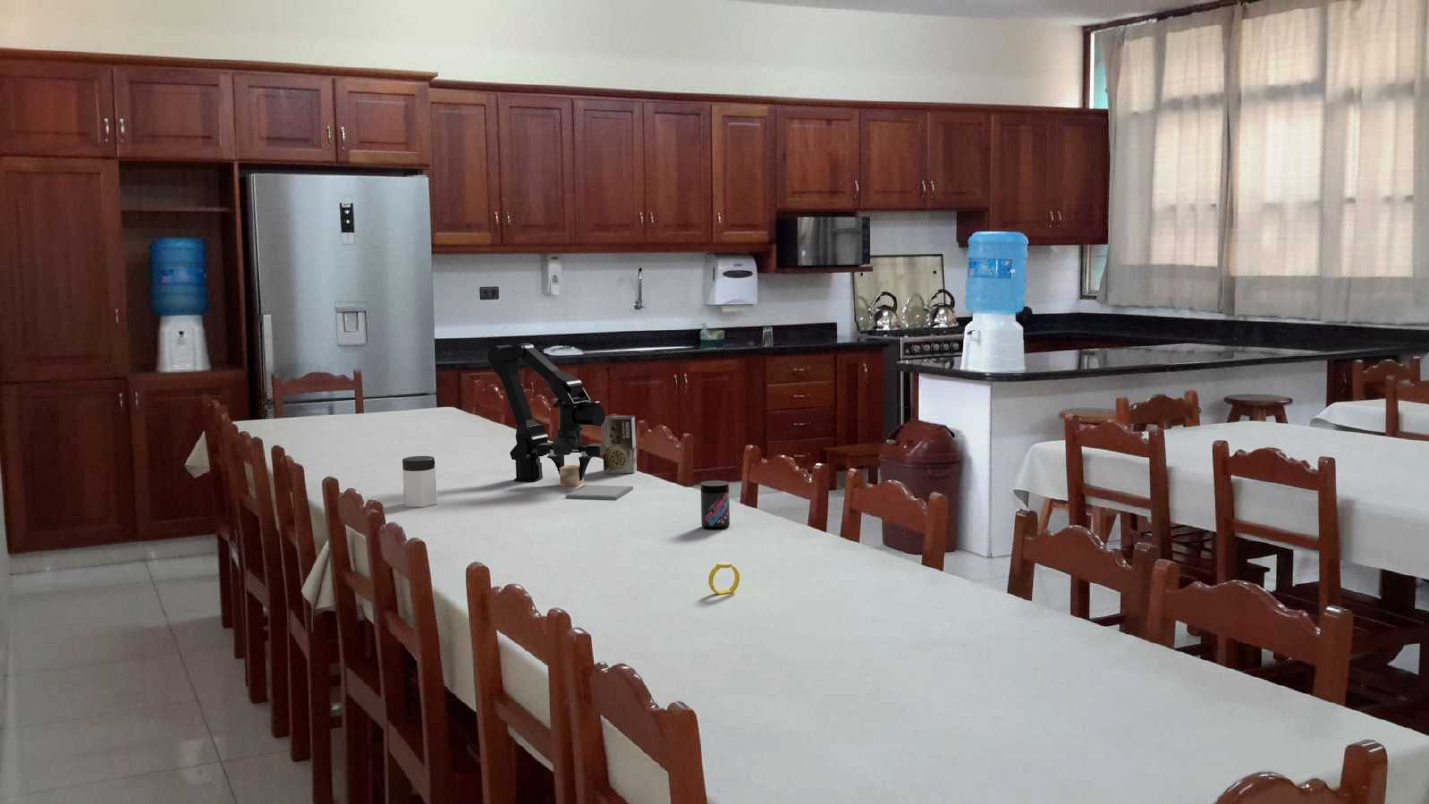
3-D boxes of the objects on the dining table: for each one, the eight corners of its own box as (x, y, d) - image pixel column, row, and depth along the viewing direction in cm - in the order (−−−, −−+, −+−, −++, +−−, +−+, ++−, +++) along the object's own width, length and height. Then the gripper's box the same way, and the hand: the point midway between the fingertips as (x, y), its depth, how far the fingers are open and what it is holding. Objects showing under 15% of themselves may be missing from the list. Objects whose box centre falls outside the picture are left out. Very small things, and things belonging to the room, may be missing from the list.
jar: (439, 505, 321) (436, 459, 319) (406, 508, 318) (404, 462, 316) (434, 499, 329) (432, 454, 327) (402, 502, 326) (400, 456, 325)
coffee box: (637, 469, 367) (635, 415, 365) (633, 473, 361) (632, 418, 359) (606, 469, 368) (605, 415, 366) (602, 473, 362) (601, 418, 359)
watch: (734, 590, 239) (735, 560, 238) (741, 594, 236) (742, 563, 236) (706, 593, 236) (707, 562, 235) (712, 596, 233) (714, 565, 233)
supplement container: (698, 530, 288) (697, 485, 287) (704, 523, 295) (703, 480, 293) (726, 531, 287) (726, 486, 285) (732, 524, 293) (731, 480, 292)
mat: (565, 498, 327) (565, 494, 327) (584, 487, 341) (584, 484, 341) (616, 499, 324) (616, 496, 324) (633, 489, 337) (633, 486, 337)
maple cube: (560, 486, 344) (559, 468, 343) (566, 482, 349) (566, 464, 348) (577, 486, 343) (576, 468, 342) (583, 483, 348) (583, 465, 347)
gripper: (527, 428, 338) (529, 484, 340) (592, 429, 334) (594, 486, 336) (542, 422, 349) (544, 477, 351) (605, 423, 344) (607, 479, 346)
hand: (571, 480), depth 346 cm, fingers closed on maple cube, 5 cm apart
